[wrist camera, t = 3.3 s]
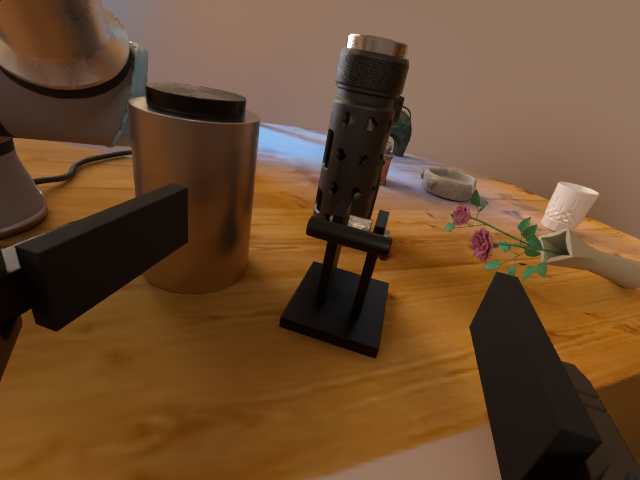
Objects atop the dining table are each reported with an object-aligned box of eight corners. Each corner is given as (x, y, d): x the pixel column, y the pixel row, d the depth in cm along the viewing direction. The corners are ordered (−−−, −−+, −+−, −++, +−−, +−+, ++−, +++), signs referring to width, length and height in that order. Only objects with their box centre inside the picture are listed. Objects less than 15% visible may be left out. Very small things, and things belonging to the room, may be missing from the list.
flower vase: (605, 333, 57) (444, 290, 45) (564, 275, 65) (419, 227, 53) (682, 294, 49) (514, 231, 37) (625, 235, 58) (472, 169, 46)
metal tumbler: (215, 306, 35) (223, 108, 26) (115, 273, 37) (91, 77, 28) (262, 255, 45) (279, 101, 37) (183, 231, 47) (181, 79, 38)
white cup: (562, 237, 74) (586, 194, 69) (530, 221, 80) (550, 181, 75) (582, 235, 77) (607, 194, 72) (550, 220, 83) (571, 182, 79)
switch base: (375, 358, 32) (412, 254, 27) (278, 326, 34) (295, 221, 29) (386, 291, 43) (413, 206, 38) (311, 269, 45) (328, 184, 39)
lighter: (369, 175, 91) (379, 137, 87) (382, 177, 91) (392, 140, 87) (373, 184, 84) (384, 144, 79) (386, 186, 84) (398, 146, 80)
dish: (468, 191, 94) (475, 174, 92) (477, 208, 82) (485, 188, 79) (416, 179, 96) (422, 162, 94) (418, 193, 84) (424, 174, 81)
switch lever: (385, 265, 23) (395, 232, 23) (302, 242, 24) (311, 209, 24) (384, 247, 35) (390, 225, 35) (329, 232, 36) (335, 210, 36)
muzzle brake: (359, 218, 63) (305, 214, 60) (401, 48, 50) (335, 33, 47) (377, 243, 55) (316, 240, 52) (433, 48, 42) (356, 30, 39)
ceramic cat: (356, 152, 114) (370, 88, 104) (349, 147, 119) (362, 86, 110) (406, 158, 120) (424, 98, 111) (398, 153, 125) (414, 95, 116)
